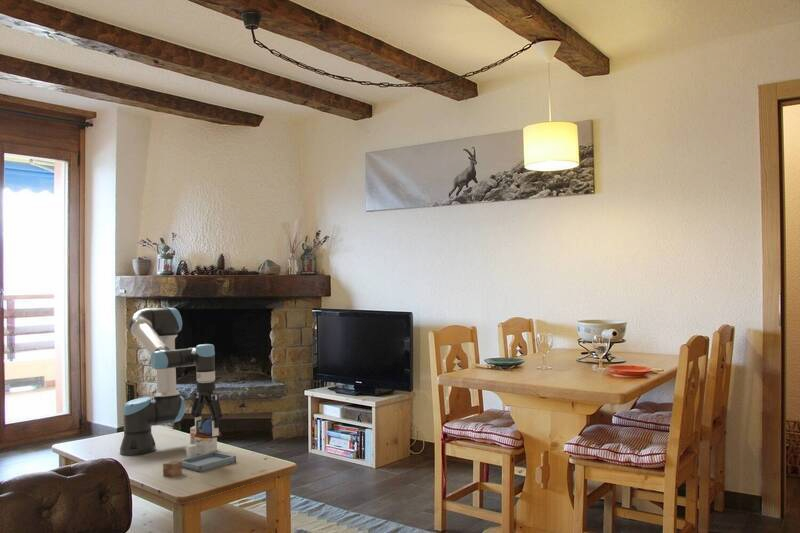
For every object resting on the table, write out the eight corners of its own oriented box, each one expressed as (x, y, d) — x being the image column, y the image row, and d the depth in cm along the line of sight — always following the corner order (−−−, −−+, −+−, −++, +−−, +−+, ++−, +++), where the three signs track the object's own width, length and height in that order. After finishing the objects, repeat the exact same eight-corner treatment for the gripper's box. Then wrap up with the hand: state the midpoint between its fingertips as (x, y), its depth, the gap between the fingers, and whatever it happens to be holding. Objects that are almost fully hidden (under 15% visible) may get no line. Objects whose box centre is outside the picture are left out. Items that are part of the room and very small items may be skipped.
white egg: (184, 460, 281) (184, 446, 282) (193, 457, 285) (193, 443, 285) (190, 461, 279) (190, 447, 279) (199, 459, 282) (199, 445, 282)
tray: (177, 466, 271) (177, 460, 271) (214, 456, 285) (214, 451, 286) (199, 472, 262) (199, 466, 262) (236, 461, 276) (236, 456, 276)
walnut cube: (163, 476, 258) (163, 463, 258) (171, 472, 263) (171, 460, 263) (173, 477, 257) (173, 464, 257) (181, 473, 261) (181, 461, 261)
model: (226, 435, 274) (225, 412, 275) (206, 439, 267) (206, 416, 268) (209, 431, 282) (209, 409, 282) (190, 435, 275) (190, 413, 275)
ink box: (189, 453, 293) (189, 427, 293) (202, 448, 300) (201, 423, 301) (205, 454, 289) (205, 428, 290) (217, 450, 297) (217, 424, 297)
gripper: (181, 380, 279) (182, 432, 278) (215, 384, 265) (216, 439, 264) (196, 378, 285) (197, 429, 284) (230, 382, 270) (231, 435, 270)
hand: (206, 434), depth 274 cm, fingers closed on model, 11 cm apart
